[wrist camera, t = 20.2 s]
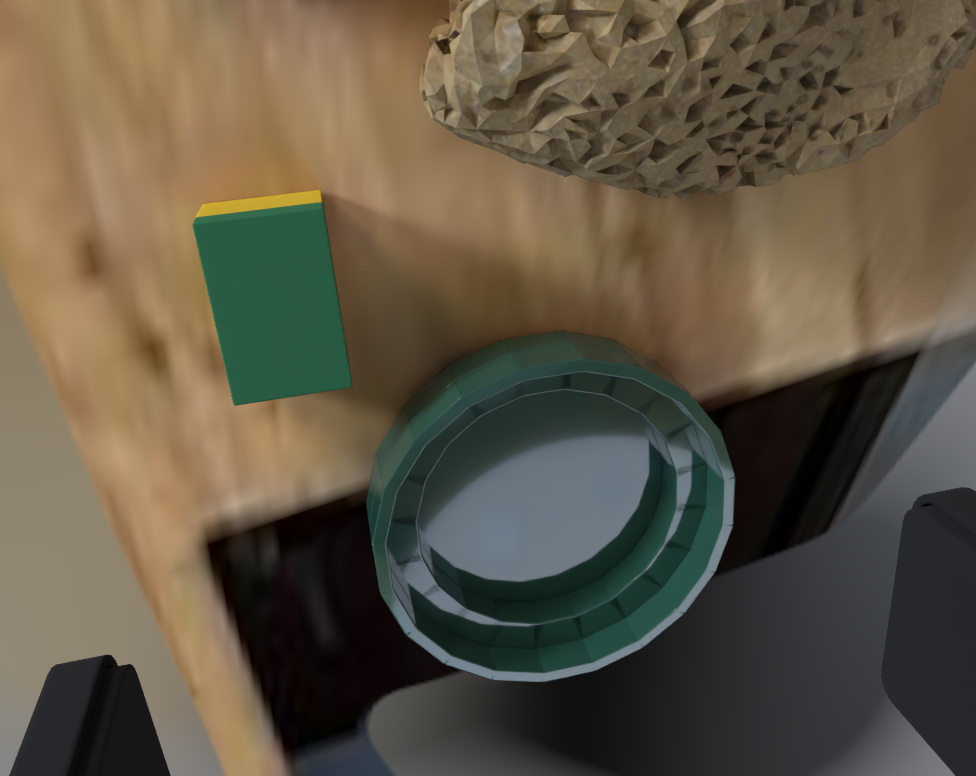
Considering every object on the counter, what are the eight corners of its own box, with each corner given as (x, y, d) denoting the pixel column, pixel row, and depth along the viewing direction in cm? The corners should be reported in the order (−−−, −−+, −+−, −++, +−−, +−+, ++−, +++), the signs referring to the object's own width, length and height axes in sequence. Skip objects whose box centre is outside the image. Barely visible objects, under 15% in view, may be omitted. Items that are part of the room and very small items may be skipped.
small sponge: (202, 203, 32) (192, 223, 29) (320, 189, 33) (323, 207, 30) (239, 371, 35) (233, 406, 32) (347, 355, 36) (352, 388, 33)
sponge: (413, 149, 34) (874, 261, 36) (402, 125, 27) (990, 268, 28) (485, -199, 32) (973, -64, 34) (497, -337, 24) (1127, -152, 26)
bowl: (342, 357, 36) (347, 395, 32) (700, 303, 38) (742, 333, 35) (391, 655, 43) (399, 713, 39) (693, 592, 45) (728, 642, 41)
